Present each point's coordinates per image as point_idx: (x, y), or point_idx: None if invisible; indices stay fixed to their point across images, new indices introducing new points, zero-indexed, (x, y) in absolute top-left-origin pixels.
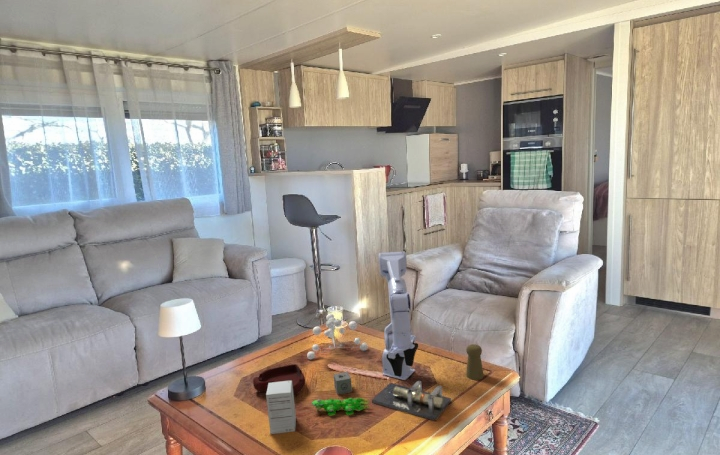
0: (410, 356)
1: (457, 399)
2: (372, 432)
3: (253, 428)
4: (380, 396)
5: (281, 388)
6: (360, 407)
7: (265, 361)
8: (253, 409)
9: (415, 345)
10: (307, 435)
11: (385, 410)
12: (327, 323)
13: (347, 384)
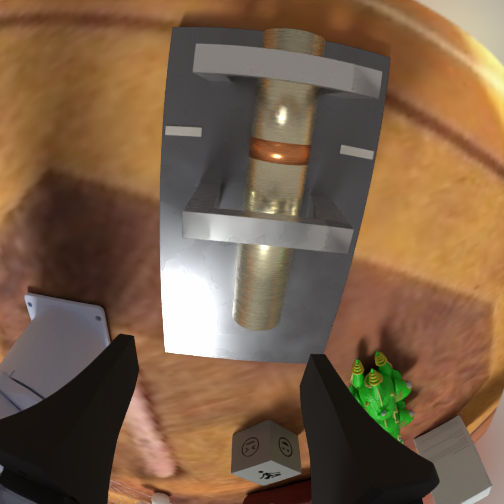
0: (105, 404)
1: (148, 11)
2: (482, 276)
3: None
4: (286, 348)
5: (472, 501)
6: (388, 369)
7: None
8: None
9: (26, 468)
10: (475, 391)
11: (360, 294)
12: None
13: (278, 447)
